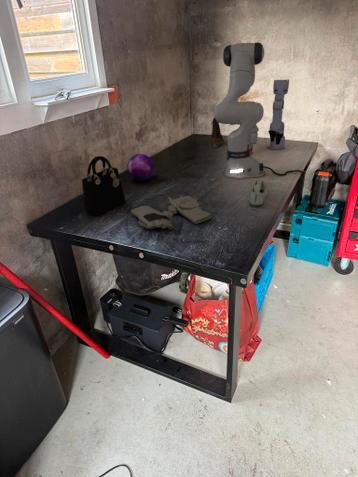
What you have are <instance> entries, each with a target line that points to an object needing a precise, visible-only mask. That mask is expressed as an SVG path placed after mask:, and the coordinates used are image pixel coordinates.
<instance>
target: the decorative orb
mask: <svg viewBox="0 0 358 477" xmlns="http://www.w3.org/2000/svg"><path fill="white" fill-rule="evenodd" d="M126 168H127V172H128V175H129V177H131V178H132V179H133V180H136V181H138V182H139V181H140V182H141V181H146V180H148V179H149V178H151V176H152V175H153V173H154V169H155V166H154V162H153V160H152V158H151V157H150V156H148V155H147V154H145V153H136V154H134V155H132V156H130V158H129V159H128V161H127V165H126Z"/></svg>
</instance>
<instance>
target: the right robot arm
mask: <svg viewBox="0 0 358 477" xmlns="http://www.w3.org/2000/svg"><path fill="white" fill-rule="evenodd" d="M289 88H290V79H289V78H288V79H274V80H273V86H272V89H273V90H272V92H273V95H274V99H273V102H272V120H271V122H270V123H269V129H268V131H267V132H268V135H269V140H270V143H269V146H267V148H268V149H270V150H272V151H276V150H283V149H285V144H286V137H285V127H286V126H285V122H284V121H283V111H284V109H285V96H286V95H287V94H288V92H289Z"/></svg>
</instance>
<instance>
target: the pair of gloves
mask: <svg viewBox="0 0 358 477" xmlns="http://www.w3.org/2000/svg"><path fill="white" fill-rule="evenodd" d="M166 204H167V205H168V207H167V210H164V211H163V212H161V211H159V210H156V209H155V208H152V207H151V206H149V205H141V206H138V207H135V208H132V209H131V210H130V214H131V215H133V216H134V217H136V218H137V219H138V225H139V226H140V227H142V228H144V229H147V230H154V229H156V228H161V229H168V230H173V229H174V226H173V224H172V223H171V221H170V219H172V218H173V216H174V215H176V214H177V213H180V214H181V216H183V217H184V218H186V219H188V220H189V221H190V222H192V223H193V224H195V225H197V224H200V223H204V222H205V221H207V220H210V219H211V217H212V214H211V213H210V212H207V211H204V210H202V208H201V207H200V202H198V200H196V199H195V198H193V197H192V196H190V195H184V196H180V197H178V198H175V199H174V198H171V197H170V196H168V197H167V199H166Z"/></svg>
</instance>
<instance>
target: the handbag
mask: <svg viewBox="0 0 358 477" xmlns="http://www.w3.org/2000/svg"><path fill="white" fill-rule="evenodd" d="M99 161H101V163H102V168H101V170H100V171H99V172H97V170H96V165H97V163H98V162H99ZM106 165H107V168H106ZM91 171H92V174H91ZM86 172H87V173H86V176H85V177H84V178H82V179H81V185H82V193H83V194H82V195H83V200H84V201H83V202H84V209H85V210H84V211H85V213H86V214H90V215H93V216H97V217H98V216H99V217H100V216H102V215H103V214H105V213H108V212H109V211H111V210H113V209H115V208H116V207H118V206H119V205H121V204H123V203H125V202H126V198H125V193H124V188H123V185H122V180H121V177H120V172H119V169H118V168H117V167H112V165H111V162H110V161H109V160H108V158H106V157H105V156H103V155H96V156H95V157H93V159H92V160H91V161H90V162H89V164H88V167H87V170H86Z"/></svg>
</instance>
